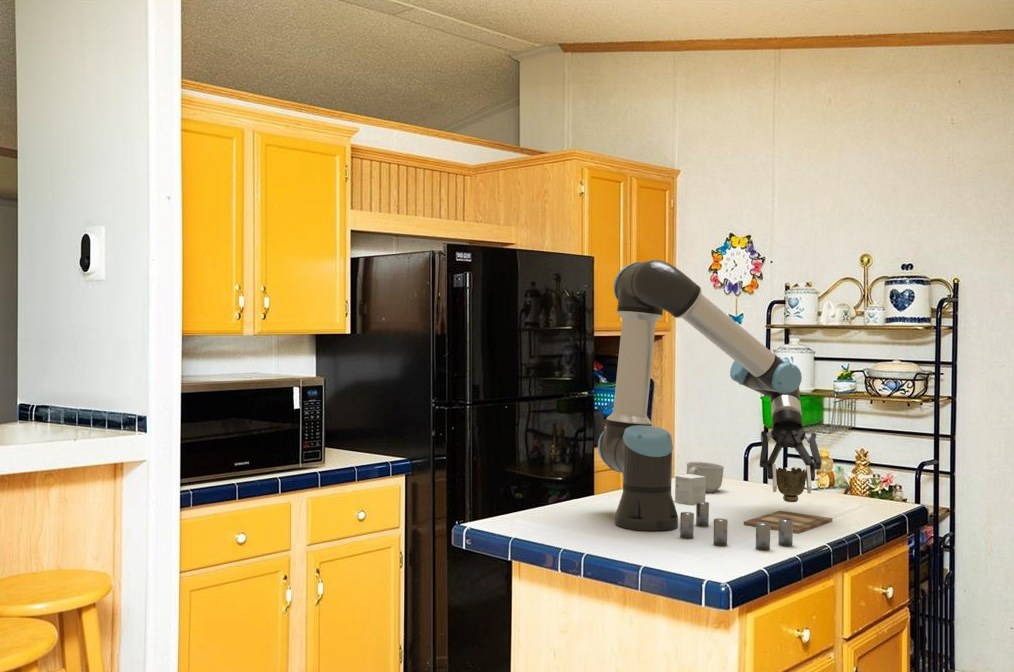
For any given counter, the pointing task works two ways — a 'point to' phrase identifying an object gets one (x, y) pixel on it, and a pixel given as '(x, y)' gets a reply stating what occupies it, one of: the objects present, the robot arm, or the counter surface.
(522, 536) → the counter surface
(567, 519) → the counter surface
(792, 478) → the cup
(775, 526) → the walnut pad
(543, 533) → the counter surface
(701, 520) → the spacer field
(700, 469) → the teacup
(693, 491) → the product box
